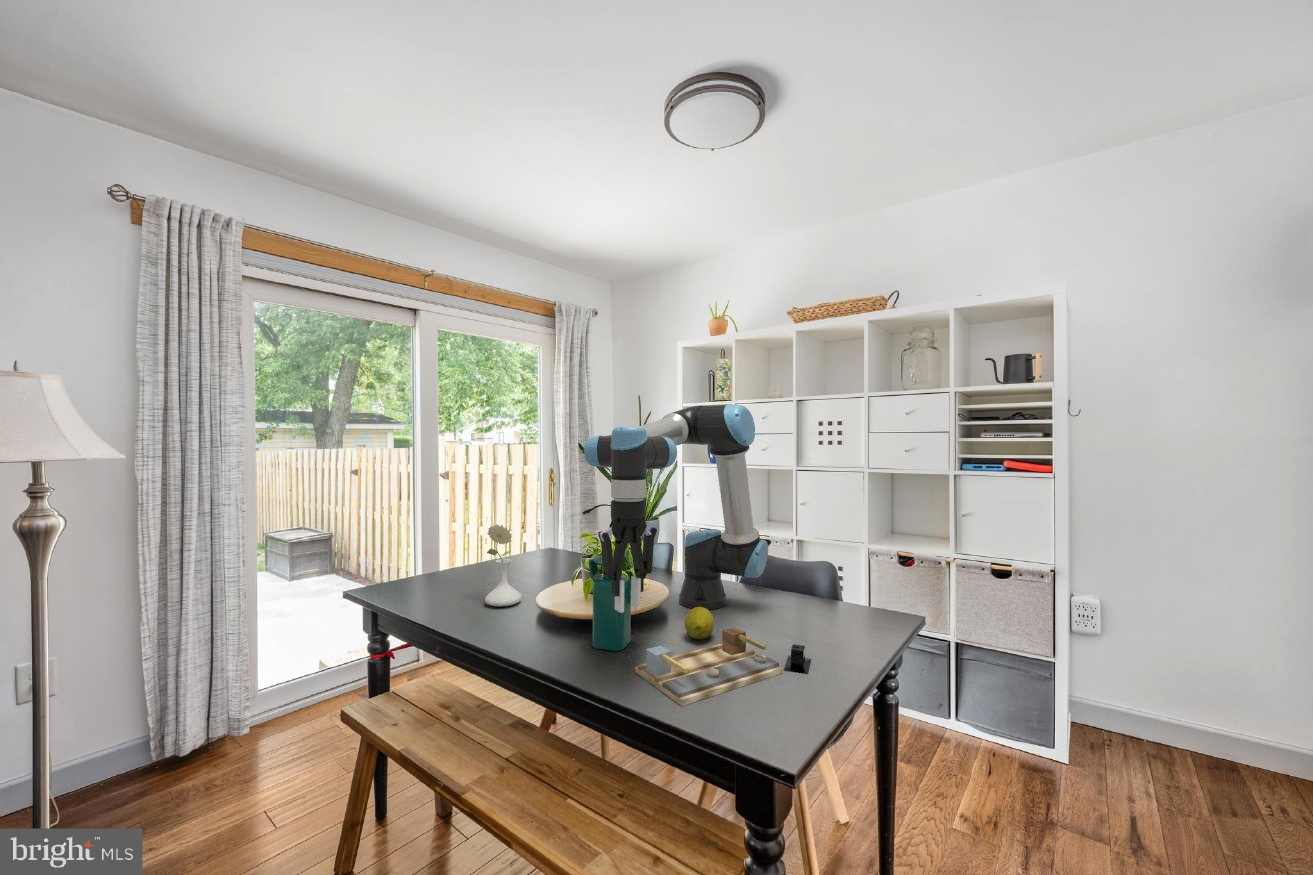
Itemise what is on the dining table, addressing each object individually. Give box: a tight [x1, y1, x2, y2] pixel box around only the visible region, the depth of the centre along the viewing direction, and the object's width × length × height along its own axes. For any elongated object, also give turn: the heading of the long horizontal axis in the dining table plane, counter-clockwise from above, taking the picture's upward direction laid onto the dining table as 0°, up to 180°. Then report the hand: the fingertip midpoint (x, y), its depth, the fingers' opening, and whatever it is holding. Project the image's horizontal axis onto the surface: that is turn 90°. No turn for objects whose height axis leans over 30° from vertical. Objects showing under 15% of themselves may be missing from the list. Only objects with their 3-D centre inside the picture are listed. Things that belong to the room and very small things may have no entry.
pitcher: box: [588, 555, 632, 652], centre depth 139 cm, size 10×8×22 cm
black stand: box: [783, 643, 813, 675], centre depth 127 cm, size 12×7×5 cm, turn 159°
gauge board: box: [634, 626, 783, 707], centre depth 122 cm, size 28×18×6 cm, turn 123°
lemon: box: [683, 607, 715, 640], centre depth 144 cm, size 11×8×8 cm
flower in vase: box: [484, 524, 523, 607], centre depth 172 cm, size 13×11×25 cm
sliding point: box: [645, 645, 688, 677], centre depth 116 cm, size 4×12×5 cm, turn 33°
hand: (627, 608), depth 115 cm, fingers open, 3 cm apart
